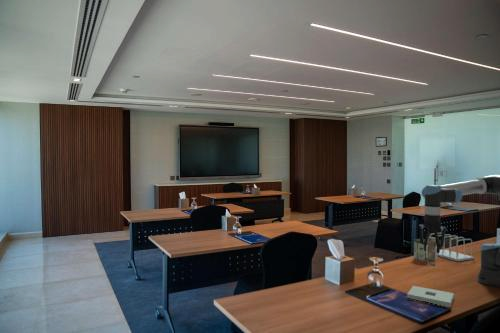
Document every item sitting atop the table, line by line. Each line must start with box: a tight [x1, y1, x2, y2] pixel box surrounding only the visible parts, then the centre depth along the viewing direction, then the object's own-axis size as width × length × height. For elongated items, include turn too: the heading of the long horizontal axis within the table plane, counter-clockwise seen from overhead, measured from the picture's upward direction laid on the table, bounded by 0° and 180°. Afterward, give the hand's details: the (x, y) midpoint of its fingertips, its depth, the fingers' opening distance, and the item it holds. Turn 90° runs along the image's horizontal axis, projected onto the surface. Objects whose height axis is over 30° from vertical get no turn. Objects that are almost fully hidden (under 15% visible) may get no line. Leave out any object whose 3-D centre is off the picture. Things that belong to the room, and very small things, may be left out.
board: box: [406, 285, 455, 308], centre depth 188 cm, size 20×15×2 cm
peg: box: [427, 236, 436, 267], centre depth 188 cm, size 5×5×14 cm
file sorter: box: [429, 232, 475, 262], centre depth 268 cm, size 25×17×16 cm
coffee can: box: [413, 238, 428, 262], centre depth 261 cm, size 10×10×14 cm
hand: (431, 258), depth 188 cm, fingers closed on peg, 3 cm apart
